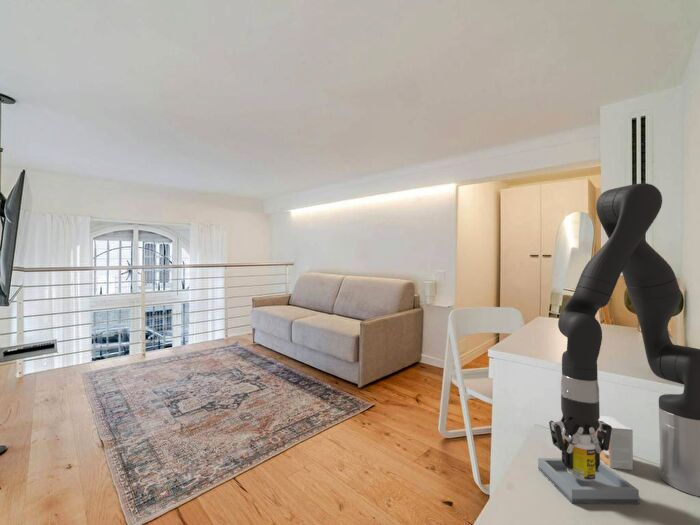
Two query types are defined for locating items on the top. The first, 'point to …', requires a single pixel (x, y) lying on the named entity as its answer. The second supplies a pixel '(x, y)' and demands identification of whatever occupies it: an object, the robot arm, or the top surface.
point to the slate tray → (589, 484)
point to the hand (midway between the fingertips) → (580, 466)
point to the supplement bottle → (583, 459)
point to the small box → (618, 445)
